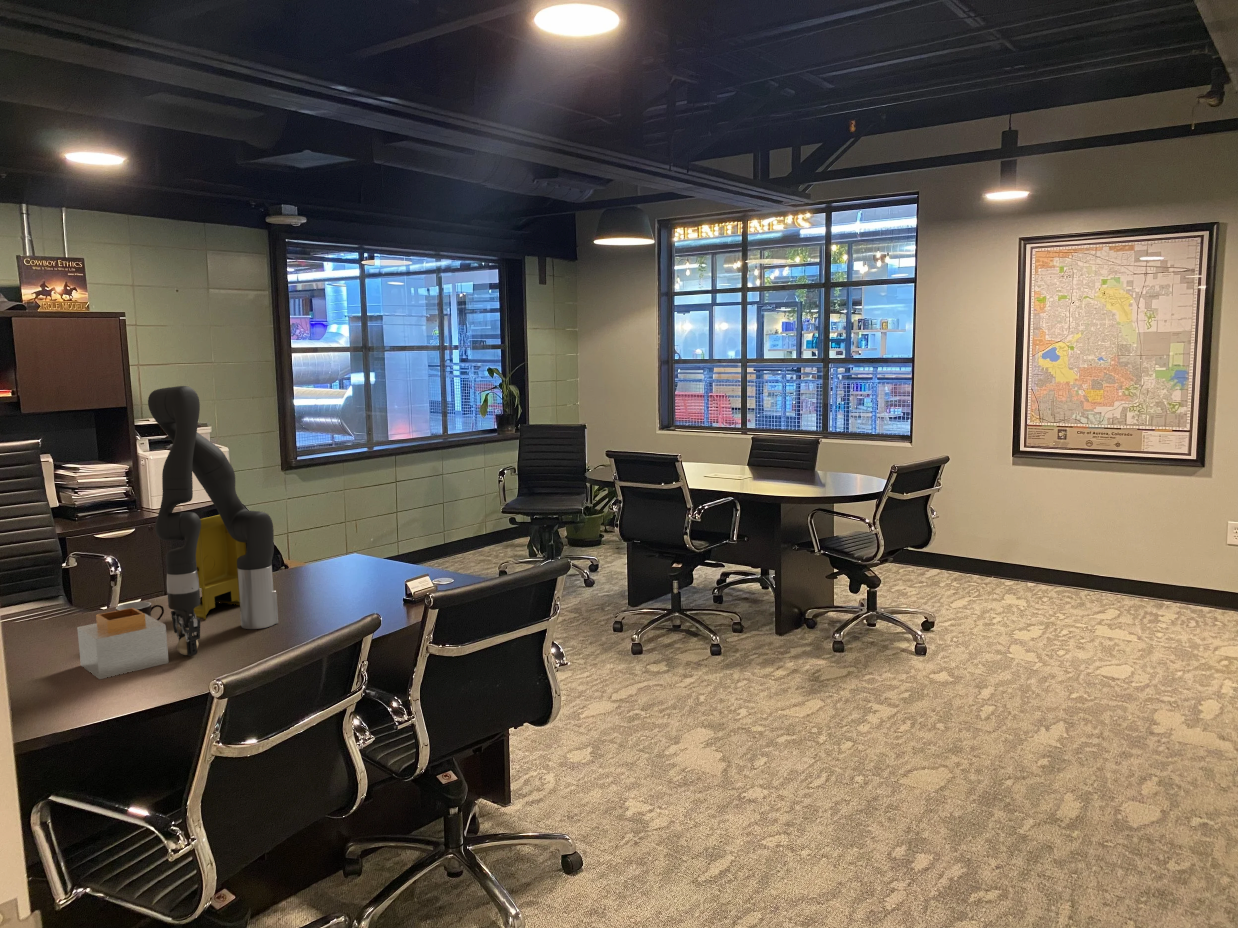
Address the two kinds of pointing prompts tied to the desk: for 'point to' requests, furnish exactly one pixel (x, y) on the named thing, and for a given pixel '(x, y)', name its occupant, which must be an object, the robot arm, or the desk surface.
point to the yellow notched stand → (217, 565)
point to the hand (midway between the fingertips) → (188, 652)
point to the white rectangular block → (122, 643)
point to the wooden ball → (183, 645)
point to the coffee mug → (141, 607)
